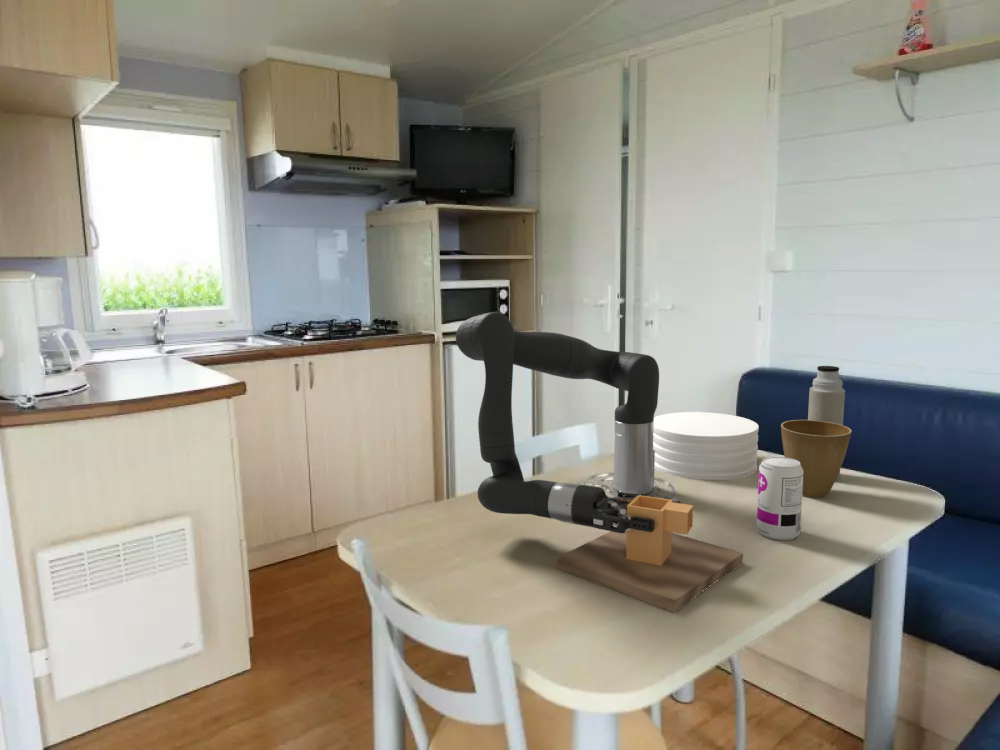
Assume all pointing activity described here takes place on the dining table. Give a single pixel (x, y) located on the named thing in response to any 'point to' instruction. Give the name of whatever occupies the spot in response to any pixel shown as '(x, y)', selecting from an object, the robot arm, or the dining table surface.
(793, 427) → the plant pot
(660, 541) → the open-top tan box
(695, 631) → the dining table surface
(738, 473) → the plate stack
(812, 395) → the thermos bottle
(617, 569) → the mount board
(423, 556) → the dining table surface
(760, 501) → the supplement can
